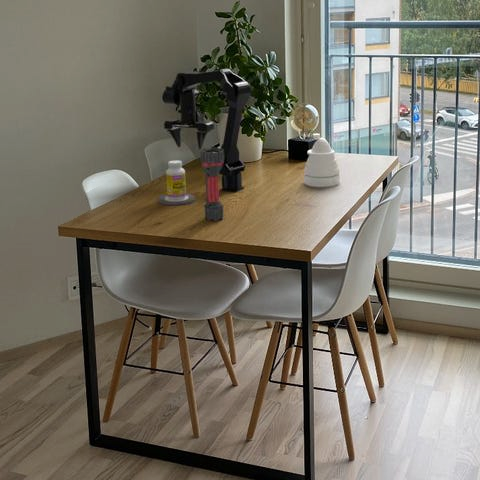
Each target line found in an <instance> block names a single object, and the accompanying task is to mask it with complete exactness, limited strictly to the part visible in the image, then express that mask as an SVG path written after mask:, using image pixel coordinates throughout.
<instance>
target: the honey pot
mask: <svg viewBox="0 0 480 480" xmlns="http://www.w3.org/2000/svg"><path fill="white" fill-rule="evenodd" d="M320 135H321V134H320V133H313V134H312V137H313V139H314V140H315V142H314V144H313V146H312V148H311V149H309V150H307V153H306V154H307V155H309V156H308V158H307V159H306V163H305V167H304V169H303V170H304V174H303V179H304V180H303V181H304V182H303V183H304V184H305V185H306V186H309V187H312V188H313V187H315V188H328V187H334V186H337V185H339V184H340V167H339V166H338V162H337V159H336V156H335V153H336V151H335V150H333V149H332V147H331V145H330V143H329V142H328V141H327V140H326V138H324V137H321V136H320Z"/></svg>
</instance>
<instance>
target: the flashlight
mask: <svg viewBox="0 0 480 480" xmlns="http://www.w3.org/2000/svg"><path fill="white" fill-rule="evenodd" d="M216 148H217V147H215V146H213V147H210V148H208V149H207V148H201V151H200V162H201V166H202V170H203V171H204V174H205V190H206V191H205V193H206V196H205V197H206V203H205V204H204V217H205V219H206V220H207V221H209V222H210V221H215V222H218V221H220V220H223V219H224V205H223V204H222V202H221V201H220V200H221V199H220V186H219V175H220V174H219V171H220V170H221V168H222V165H223V162H224V150H223V149H222V148H220V149H216Z"/></svg>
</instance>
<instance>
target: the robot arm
mask: <svg viewBox="0 0 480 480" xmlns="http://www.w3.org/2000/svg"><path fill="white" fill-rule="evenodd" d="M210 82H211V83H213V82H218V83H219V84H220V86H221V89H222V90H223V92H224V93H226V101H227V104H228V112H227V116H226V117H227V119H226V124H225V130H224V136H223V141H222V144H221V146H217V147H216V149H220V148H222V149H223V150H224V162H223V165H222V168H221V170H220V171H219V174H218V175H221V188H220V191H225V192H232V193H233V192H239V191H241V190H242V189H244V188H245V186H244V185H243V181H242V179H243V178H242V177H243V176H242V172H245V169H246V165H245V164H244V162H243V161H242V160H241V158H240V151H239V148H238V142H239V141H238V139H239V134H240V128H241V123H242V117H243V112H244V111H243V110H244V107H245V106H247V105H246V104H247V103H248V102H249V99H250V96H251V94H252V87H251V85H250V84H249V83H248V82H247V81H246V80H245V79H243V78H242V77H241V76H239V75H237V74H236V73H234V72H232V70H231V69H230V68H221V69H218V70H211V71H204V72H199V71H193V70H189V71H184V72H178V73H176V76H175V80H174V82H173V84H172V85H166V86H165V90H164V91H163V93H162V96H161V97H162V98H161V99H162V102H163V103H164V104H165V105H171V106H179V109H178V110H177V113H179V114H180V115H179V116H180V119H177V118H170V119H167V120H165V121H164V122H163V129H164V130H166V131H167V132H168V133H169V134H170V136H171V137H172V138H173V140H174V142H175V144H176V146H177V147H178V148H181V144H182V143H181V141H182V140H181V130H182V128H186V129H187V128H188V129H189V128H190V129H197V131H196V138H197V145H198V150H202V149H203V144H204V141H205V138H206V136H207V134H208V133H210V132H211V131H212V130H214V129H215V124H214V122H213V121H209V120H208V121H206V120H205V117H206V116H205V115H206V114H204V113H202V112H199V109H198V107H196V95H199V94H200V92H199V91H198V90H197V89H196V88H195V87H197V86H199V85H201V84H204V83H210Z"/></svg>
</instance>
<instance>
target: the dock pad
mask: <svg viewBox="0 0 480 480" xmlns="http://www.w3.org/2000/svg"><path fill="white" fill-rule="evenodd" d="M195 201H196V196H195V195H193V194H189V193H186V197H185V198H184V199H180V200H171V199H168V198H167V194H165V195H162V196H159V197H158V198H157V203H158V204H160V205H163V206H172V207H174V206H185V205H189V204H192V203H194V202H195Z"/></svg>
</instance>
